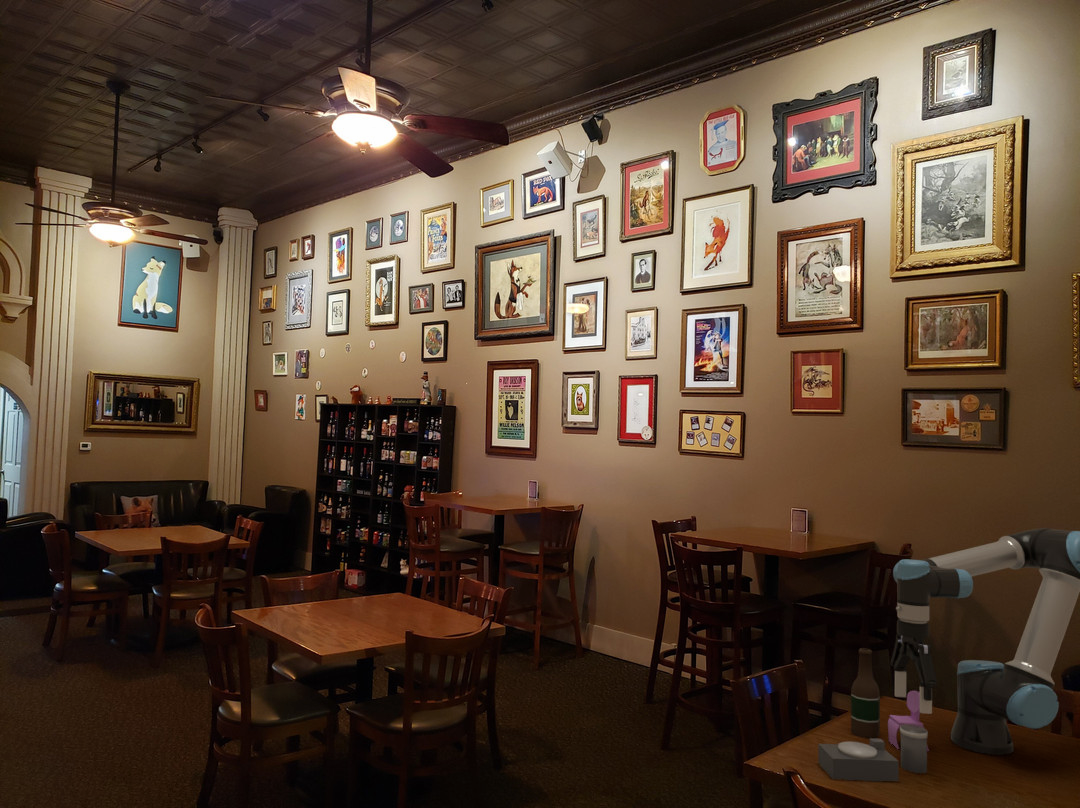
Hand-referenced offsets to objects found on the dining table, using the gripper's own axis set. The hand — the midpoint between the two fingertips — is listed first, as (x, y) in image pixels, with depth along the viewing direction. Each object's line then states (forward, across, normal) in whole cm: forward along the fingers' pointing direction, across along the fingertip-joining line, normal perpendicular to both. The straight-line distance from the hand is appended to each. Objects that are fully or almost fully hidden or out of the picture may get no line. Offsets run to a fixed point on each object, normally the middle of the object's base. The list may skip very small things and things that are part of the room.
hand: (912, 704), depth 197 cm
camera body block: (+16, +4, -16) cm, 23 cm away
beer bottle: (+16, -25, -2) cm, 30 cm away
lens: (+16, 0, 0) cm, 16 cm away
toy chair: (+16, -16, +6) cm, 24 cm away
